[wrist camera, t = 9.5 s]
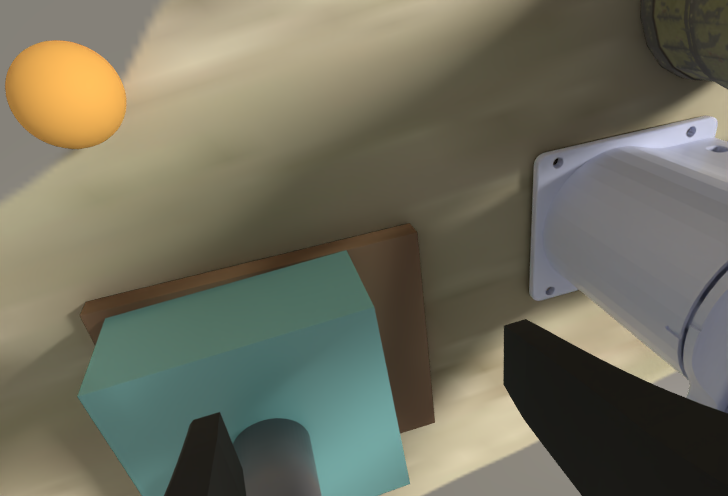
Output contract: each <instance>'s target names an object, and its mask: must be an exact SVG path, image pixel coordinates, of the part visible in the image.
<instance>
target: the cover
mask: <svg viewBox="0 0 728 496" xmlns="http://www.w3.org/2000/svg"><path fill="white" fill-rule="evenodd" d="M77 397H78V399H79V400H80V402H81V403H82V405H83V406H84V408H85V409H86V411H87V412H88V414H89V415H90V417H91V418H92V420H93V421H94V423H95V425H96V426H97V428H98V429H99V431H100V432H101V434H102V435H103V437H104V438H105V440H106V441H107V443H108V444H109V446H110V448H111V449H112V451H113V452H114V454H115V455H116V457H117V458H118V460H119V461H120V463H121V464H122V466H123V467H124V469H125V470H126V472H127V474H128V475H129V477H130V478H131V480H132V481H133V483H134V484H135V486H136V487H137V489H138V490H139V492H140V493H141V495H142V496H164V494H165V492H166V489H167V487H168V484H169V482H170V480H171V477H172V474H173V472H174V469H175V466H176V464H177V461H178V458H179V455H180V453H181V450H182V447H183V444H184V441H185V438H186V435H187V432H188V428H189V425H190V424H191V422H192V421H193V420H195V419H198V418H201V417H204V416H208V415H211V414H214V413H218V412H220V413H221V416H222V418H223V421H224V423H225V426H226V428H227V431H228V433H229V436H230V438H231V441H232V443H233V446H234V448H235V451H236V453H237V456H238V458H239V461H240V463H241V466H242V469H243V475H244V482H245V489H246V496H378V495H381V494H383V493H386V492H389V491H392V490H395V489H397V488H400V487H403V486H406V485H408V484H410V481H409V476H408V471H407V466H406V461H405V456H404V451H403V446H402V441H401V436H400V432H399V427H398V422H397V417H396V412H395V407H394V402H393V397H392V392H391V387H390V382H389V377H388V372H387V367H386V363H385V358H384V353H383V348H382V343H381V338H380V333H379V328H378V323H377V318H376V313H375V308H374V305H373V303H372V301H371V299H370V297H369V295H368V293H367V291H366V289H365V287H364V285H363V283H362V281H361V279H360V277H359V275H358V273H357V271H356V269H355V267H354V265H353V262H352V260H351V258H350V256H349V254H348V252H347V250H345V251H341V252H338V253H334V254H331V255H327V256H324V257H320V258H317V259H313V260H309V261H306V262H302V263H299V264H295V265H292V266H288V267H285V268H281V269H278V270H274V271H271V272H267V273H264V274H260V275H257V276H253V277H249V278H246V279H242V280H239V281H235V282H232V283H228V284H225V285H221V286H218V287H214V288H211V289H207V290H204V291H200V292H197V293H193V294H189V295H186V296H182V297H179V298H175V299H172V300H168V301H165V302H161V303H158V304H154V305H151V306H147V307H144V308H140V309H136V310H133V311H129V312H126V313H122V314H119V315H115V316H112V317H108V318H105V320H104V323H103V326H102V329H101V331H100V334H99V337H98V340H97V343H96V346H95V348H94V351H93V354H92V357H91V360H90V362H89V365H88V368H87V371H86V374H85V377H84V379H83V382H82V385H81V388H80V391H79V393H78V396H77Z"/></svg>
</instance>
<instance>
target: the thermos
mask: <svg viewBox="0 0 728 496" xmlns="http://www.w3.org/2000/svg"><path fill="white" fill-rule="evenodd" d="M641 21H642V25H643V29H644V33H645V38H646V42H647V46H648V48H649V49H650V50H651V52H652V53H653V55H654V56H655V58H656V59H657V61H658V62H659V64H660V65H661V66H662V67H663V68H665V69H667V70H668V71H670V72H672V73H674V74H676V75H677V76H679V77H681V78H686V79H691V80H707V81H713V82H716V83H718V84H719V85H721V86H723V87H724V88H726V89H728V0H641Z"/></svg>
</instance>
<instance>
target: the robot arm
mask: <svg viewBox="0 0 728 496" xmlns="http://www.w3.org/2000/svg"><path fill="white" fill-rule="evenodd" d="M688 129H689V131H688V132H687V130H688ZM716 129H717V119H716V118H714V117H711V116H702V117H697V118H693V119H689V120H684V121H680V122H676V123H671V124H667V125H663V126H658V127H654V128H650V129H645V130H641V131H636V132H632V133H628V134H623V135H619V136H615V137H610V138H606V139H602V140H597V141H593V142H589V143H584V144H580V145H576V146H571V147H567V148H562V149H558V150H554V151H549V152H545V153H542V154H540V155H539V156H538V157H537V158H536V160H535V162H534V174H533V201H532V229H531V256H530V283H529V294H530V296H531V297H532V298H533V299H534V300H536V301H541V300H545V299H548V298H552V297H555V296H559V295H562V294H566V293H570V292H573V291H577V290H580V291H581V292H582V293H583V294H585V295H586V296H587V297H588V298H589V299H591V300H592V301H593V302H594V303H596V304H597V305H598V306H599V307H600V308H602V309H603V310H604V311H605V312H606V313H608V314H609V315H610V316H611V317H612V318H614V319H615V320H616V321H617V322H618V323H620V324H621V325H622V326H623V327H624V328H626V329H627V330H628V331H629V332H631V333H632V334H633V335H634V336H635V337H637V338H638V339H639V340H640V341H641V342H643V343H644V344H645V345H646V346H647V347H649V348H650V349H651V350H652V351H653V352H655V353H656V354H657V355H658V356H659V357H661V358H662V359H663V360H664V361H666V362H667V363H668V364H669V365H670V366H672V367H673V368H674V369H675V370H676V371H678V372H679V373H680V374H681V375H682V376H684V377H685V378H686V379H687V380H689V384H690V387H689V392H688V394H687V397H686V398H685V397H682V396H680V395H677V394H675V393H672V392H670V391H667V390H665V389H663V388H660V387H658V386H655V385H653V384H651V383H649V382H647V381H645V380H642V379H640V378H638V377H636V376H634V375H632V374H629V373H627V372H625V371H623V370H621V369H619V368H617V367H615V366H613V365H611V364H609V363H607V362H605V361H603V360H601V359H599V358H597V357H595V356H593V355H591V354H589V353H588V352H586V351H584V350H582V349H580V348H578V347H576V346H574V345H573V344H571V343H569V342H567V341H565V340H563V339H562V338H560V337H558V336H556V335H554V334H552V333H551V332H549V331H547V330H545V329H543V328H541V327H540V326H538V325H536V324H534V323H532V322H530V321H528V320H526V319H525V320H521V321H518V322H515V323H511V324H508V325H505V326H504V386H505V388H506V389H507V391H508V393H509V395H510V397H511V398H512V400H513V402H514V404H515V405H516V407H517V409H518V410H519V412H520V414H521V415H522V417H523V419H524V420H525V421H526V423H527V424H528V425H529V427H530V428H531V429H532V431H533V432H534V433H535V435H536V436H537V437H538V439H539V440H540V441H541V443H542V444H543V445H544V447H545V448H546V449H547V451H548V452H549V453H550V455H551V456H552V457H553V458H554V460H555V461H556V462H557V464H558V465H559V466H560V467H561V469H562V470H563V471H564V473H565V474H566V475H567V477H568V478H569V479H570V481H571V482H572V483H573V485H574V486H575V487H576V488H577V490H578V491H579V492H580V494H581V495H582V496H728V142H727V141H724V140H720V139H717V138H715V134H716ZM557 158H558V162H557V163H556V165H554V166H553V162H554V160H555V159H557ZM549 287H550V288H549ZM548 288H549V289H548ZM547 289H548V290H547ZM546 290H547V291H546ZM164 496H246V489H245V482H244V475H243V469H242V466H241V463H240V461H239V458H238V456H237V453H236V451H235V448H234V446H233V443H232V441H231V438H230V436H229V433H228V431H227V428H226V426H225V423H224V421H223V418H222V416H221V413H220V412H218V413H214V414H211V415H208V416H204V417H201V418H198V419H195V420H193V421H192V422H191V424H190V425H189V428H188V432H187V435H186V438H185V441H184V444H183V447H182V450H181V453H180V455H179V458H178V461H177V464H176V466H175V469H174V472H173V474H172V477H171V480H170V482H169V484H168V487H167V489H166V492H165V494H164Z"/></svg>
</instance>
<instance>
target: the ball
mask: <svg viewBox="0 0 728 496" xmlns="http://www.w3.org/2000/svg"><path fill="white" fill-rule="evenodd" d="M5 90H6V97H7V101H8V104H9V107H10V109H11V111H12V112H13V114H14V116H15V118H16V119H17V120H18V122H19V123H20V124H21V125H22V126H23V127H24V128H25V129H26V130H27V131H28V132H29V133H31V134H32V135H34V136H35V137H37V138H38V139H40V140H42V141H44V142H46V143H48V144H51V145H54V146H57V147H62V148H69V149H82V148H88V147H92V146H95V145H98V144H100V143H102V142H104V141H106V140H107V139H108V138H110V137H111V136H112V135H113V134H114V133H115V132H116V131H117V130H118V128H119V127H120V125H121V123H122V121H123V119H124V115H125V112H126V95H125V90H124V87H123V84H122V82H121V79H120V77H119V76H118V74H117V72H116V71H115V70H114V68H113V67H112V66H111V65H110V64H109V63H108V62H107V61H106V60H105V59H104V58H103V57H102V56H100V55H99V54H97V53H96V52H94V51H93V50H91V49H89V48H87V47H85V46H82V45H80V44H76V43H73V42H68V41H56V40H55V41H45V42H41V43H37V44H35V45H32V46H30V47H29V48H27V49H25V50H23V51H22V52H21V53H20V54H19V55H18V56H17V57H16V58H15V59H14V61H13V62H12V64H11V66H10V67H9V70H8V72H7V76H6V82H5Z"/></svg>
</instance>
